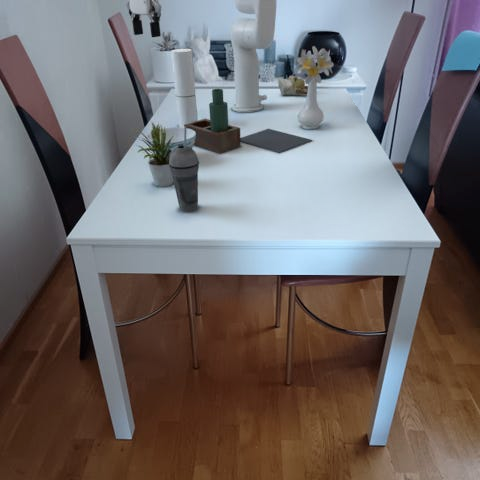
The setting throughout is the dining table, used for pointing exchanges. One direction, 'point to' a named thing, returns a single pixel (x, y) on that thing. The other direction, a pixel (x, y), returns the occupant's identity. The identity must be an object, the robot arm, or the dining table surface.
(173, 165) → the beverage cup
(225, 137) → the caddy
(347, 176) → the dining table surface
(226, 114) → the bottle
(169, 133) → the chinaware
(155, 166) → the house plant
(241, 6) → the robot arm
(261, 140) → the mat
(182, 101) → the cylindrical container
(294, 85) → the ceramic sculpture
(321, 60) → the flower vase
